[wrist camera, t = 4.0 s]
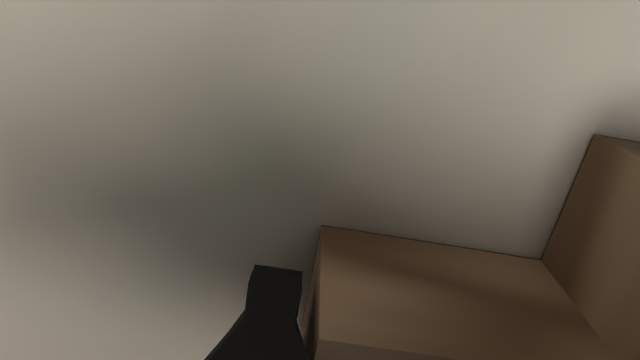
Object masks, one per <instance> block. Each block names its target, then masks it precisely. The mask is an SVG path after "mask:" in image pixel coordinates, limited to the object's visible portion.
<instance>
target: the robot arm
mask: <svg viewBox="0 0 640 360" xmlns="http://www.w3.org/2000/svg"><path fill="white" fill-rule="evenodd" d="M301 293H302V271H295V270H289V269H282V268H276V267H269V266H263V265H256V264H255V266H254V269H253V271H252V274H251V277H250V280H249V283H248V291H247V298H246V306H245V310H244V311H243V313H242V314H241V315H240V317H239V318H238V319H237V321H236V322H235V324H234V325H233V326H232V328H231V329H230V330H229V331H228V333H227V334H226V335H225V336H224V337H223V339H222V340H221V341H220V342H219V343H218V344H217V346H216V347H215V348H214V349H213V350H212V351H211V352H210V354H209V355H208V356H207V357H206V358H205V359H204V360H310V359H309V356H308V354H307V351H306V348H305V345H304V342H303V339H302V336H301V333H300V329H299V326H298V323H297V320H296V319H297V314H298V309H299V303H300V298H301Z"/></svg>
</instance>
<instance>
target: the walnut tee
mask: <svg viewBox="0 0 640 360" xmlns="http://www.w3.org/2000/svg"><path fill="white" fill-rule="evenodd" d="M301 336H302V339H303V342H304V345H305V348H306V351H307V354H308V356H309V359H310V360H640V142H635V141H629V140H623V139H618V138H612V137H606V136H601V135H594V137H593V139H592V142H591V144H590V146H589V149H588V151H587V154H586V156H585V158H584V161H583V163H582V165H581V168H580V170H579V172H578V175H577V177H576V179H575V182H574V184H573V186H572V189H571V191H570V194H569V196H568V198H567V201H566V203H565V205H564V208H563V210H562V212H561V215H560V217H559V219H558V222H557V224H556V226H555V229H554V231H553V233H552V236H551V238H550V241H549V243H548V245H547V248H546V250H545V252H544V255H543V257H542V259H541V260H535V259H529V258H522V257H516V256H510V255H504V254H497V253H491V252H485V251H478V250H472V249H466V248H460V247H453V246H447V245H441V244H434V243H428V242H422V241H416V240H409V239H403V238H397V237H390V236H384V235H378V234H372V233H365V232H359V231H353V230H346V229H340V228H334V227H328V226H322V227H321V232H320V237H319V242H318V247H317V252H316V257H315V262H314V267H313V272H312V277H311V282H310V287H309V292H308V297H307V303H306V308H305V313H304V318H303V323H302V328H301Z"/></svg>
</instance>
